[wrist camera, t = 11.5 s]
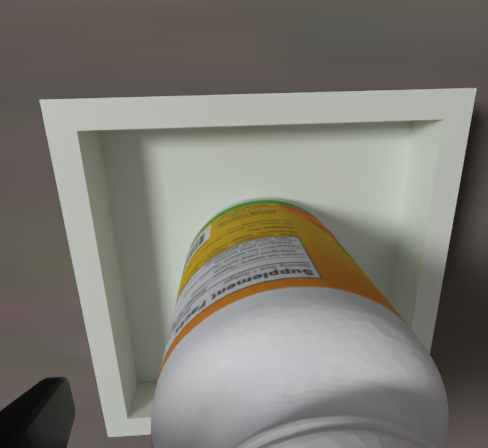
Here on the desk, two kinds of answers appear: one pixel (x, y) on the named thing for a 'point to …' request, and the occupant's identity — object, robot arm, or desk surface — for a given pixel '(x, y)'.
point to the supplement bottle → (289, 345)
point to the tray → (242, 188)
